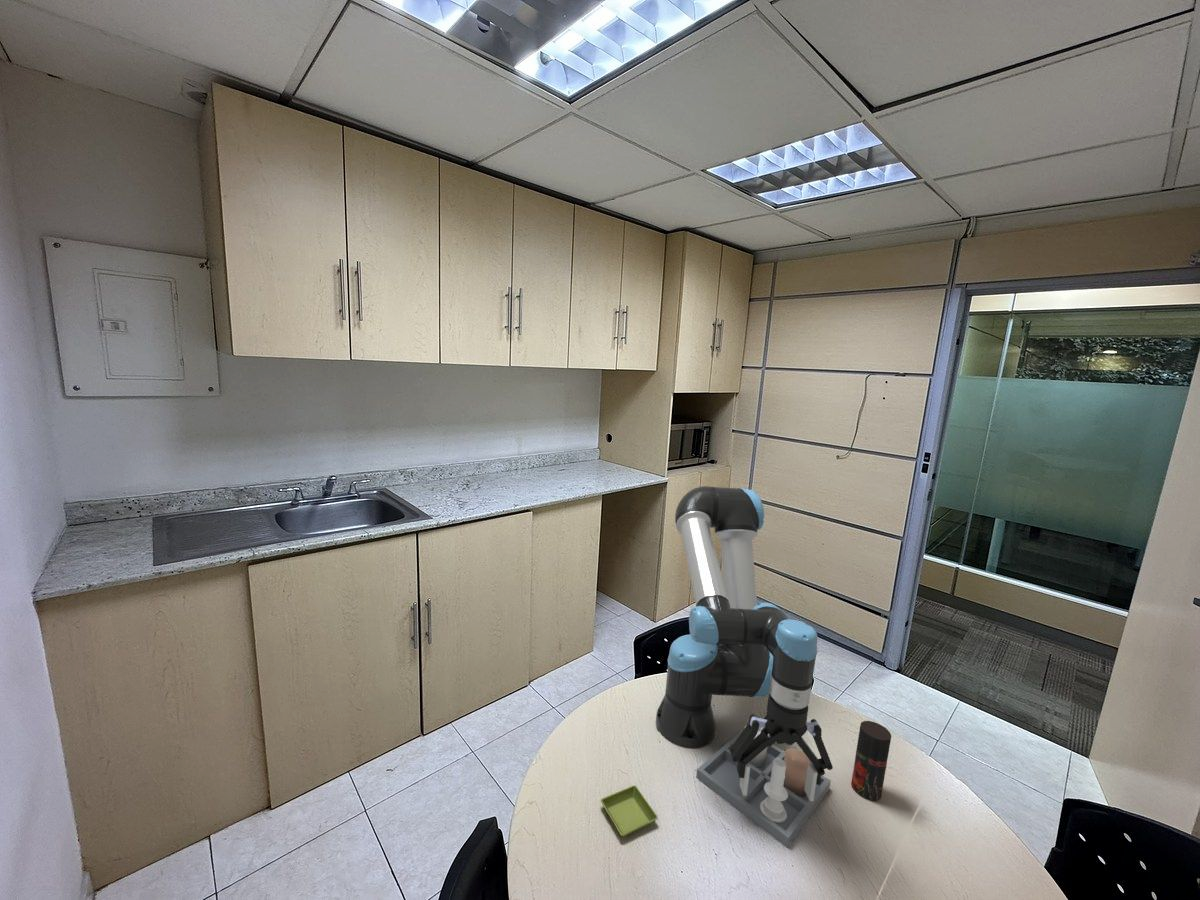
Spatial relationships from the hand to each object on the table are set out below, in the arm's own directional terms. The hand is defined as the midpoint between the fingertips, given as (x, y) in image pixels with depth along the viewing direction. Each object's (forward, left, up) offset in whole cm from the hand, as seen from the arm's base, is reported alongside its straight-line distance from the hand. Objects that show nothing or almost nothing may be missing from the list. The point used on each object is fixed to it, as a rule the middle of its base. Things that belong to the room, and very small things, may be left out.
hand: (775, 793), depth 97 cm
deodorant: (+11, +22, -5) cm, 25 cm away
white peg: (0, 0, -4) cm, 4 cm away
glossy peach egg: (0, +10, -4) cm, 11 cm away
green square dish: (-19, -24, -5) cm, 31 cm away
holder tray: (-5, +5, -5) cm, 9 cm away
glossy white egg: (-10, +10, -4) cm, 15 cm away
